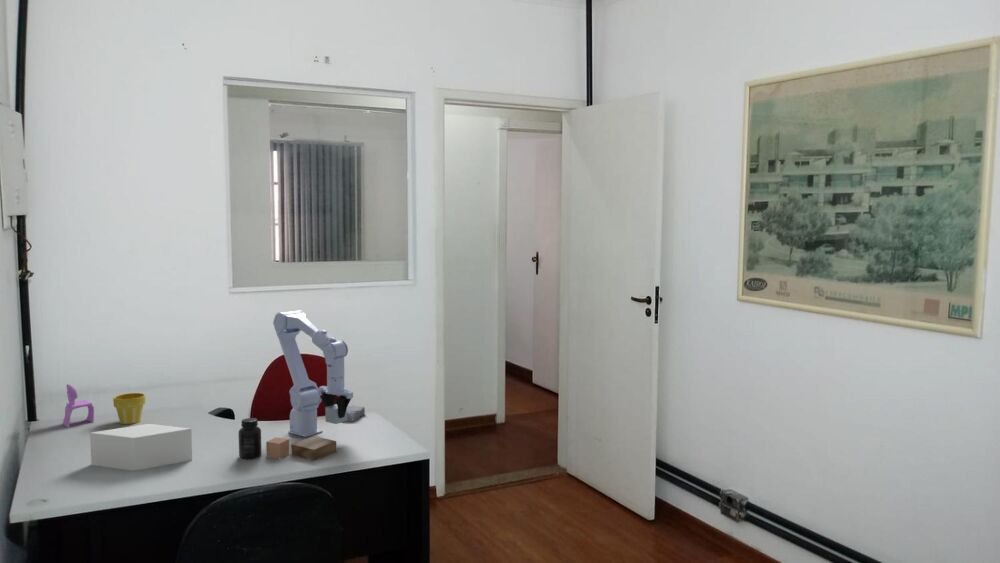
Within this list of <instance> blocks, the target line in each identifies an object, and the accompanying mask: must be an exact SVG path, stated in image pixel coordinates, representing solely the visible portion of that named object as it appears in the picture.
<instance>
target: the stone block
mask: <svg viewBox="0 0 1000 563" xmlns="http://www.w3.org/2000/svg"><path fill="white" fill-rule="evenodd" d="M365 414H366V412H365V406H360V405H348V406H347V421H345V422H348V423H349V422H350V423H351V422H352V423H353V422H355V421H357V420H358V419H359V418H361V417H363V416H364V415H365Z"/></svg>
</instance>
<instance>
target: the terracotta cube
mask: <svg viewBox="0 0 1000 563" xmlns="http://www.w3.org/2000/svg"><path fill="white" fill-rule="evenodd" d="M265 445H266V446H265V447H266V450H265V452H266V454H265V455H266V457H267V458H271V457H272V459H279V458H280V459H282V458H284V457H286V456H288V455H290V439H289V438H285V437H278V436H276V437H273V438H272V439H269V440H267V441H266V443H265ZM280 459H279V460H280Z"/></svg>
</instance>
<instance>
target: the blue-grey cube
mask: <svg viewBox="0 0 1000 563" xmlns="http://www.w3.org/2000/svg"><path fill="white" fill-rule="evenodd" d="M324 409H325V410H324V411H325V412H324V413H325V422H326V423H330V424H334V425H338V424H340V423H343V422H346V421H347V409H346V413H345V417H343V418H339V416H338V406H337V403H336V404H335V403H334V405H332V406H328V407H325V406H324Z"/></svg>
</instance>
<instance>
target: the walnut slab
mask: <svg viewBox="0 0 1000 563" xmlns="http://www.w3.org/2000/svg"><path fill="white" fill-rule="evenodd" d="M290 451H291V452H290V454H291V456H293V457H297V458H301V459H305V460H308V461H311V462H312V461H313V462H315V461H318V460H319V459H323V458H325V457H328V456H330V455H332V454H335V453H337V440H332V439H329V438H324V437H319V436H316V435H312V436H311V437H310V436H309V437H306V438H304V439H302V440H299V441H297V442H296V441H295V442H294V443H291V450H290Z"/></svg>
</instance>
